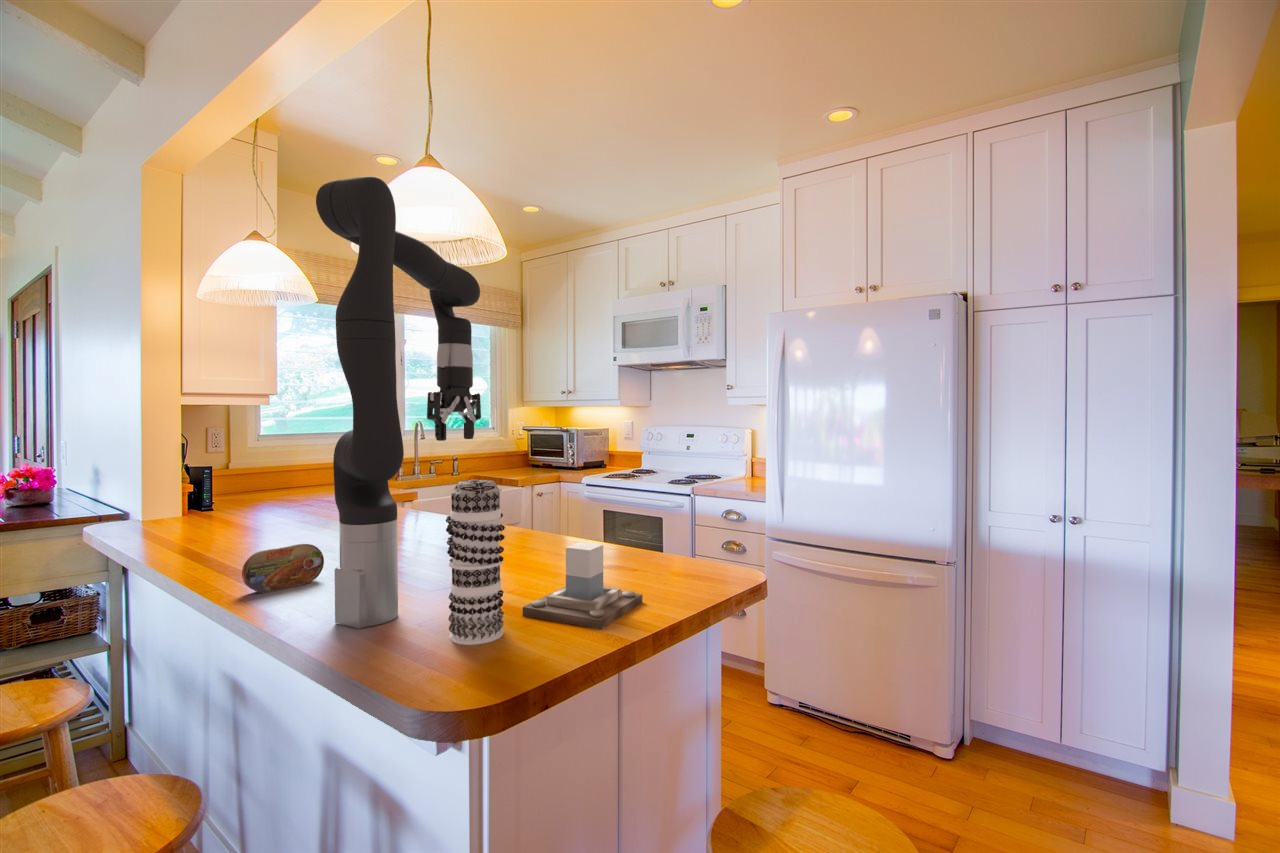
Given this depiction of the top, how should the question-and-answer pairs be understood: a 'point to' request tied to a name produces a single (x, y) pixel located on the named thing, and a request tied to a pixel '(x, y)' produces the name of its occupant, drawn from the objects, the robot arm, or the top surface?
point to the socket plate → (584, 607)
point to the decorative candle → (475, 563)
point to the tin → (282, 567)
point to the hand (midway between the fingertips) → (455, 439)
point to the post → (584, 571)
